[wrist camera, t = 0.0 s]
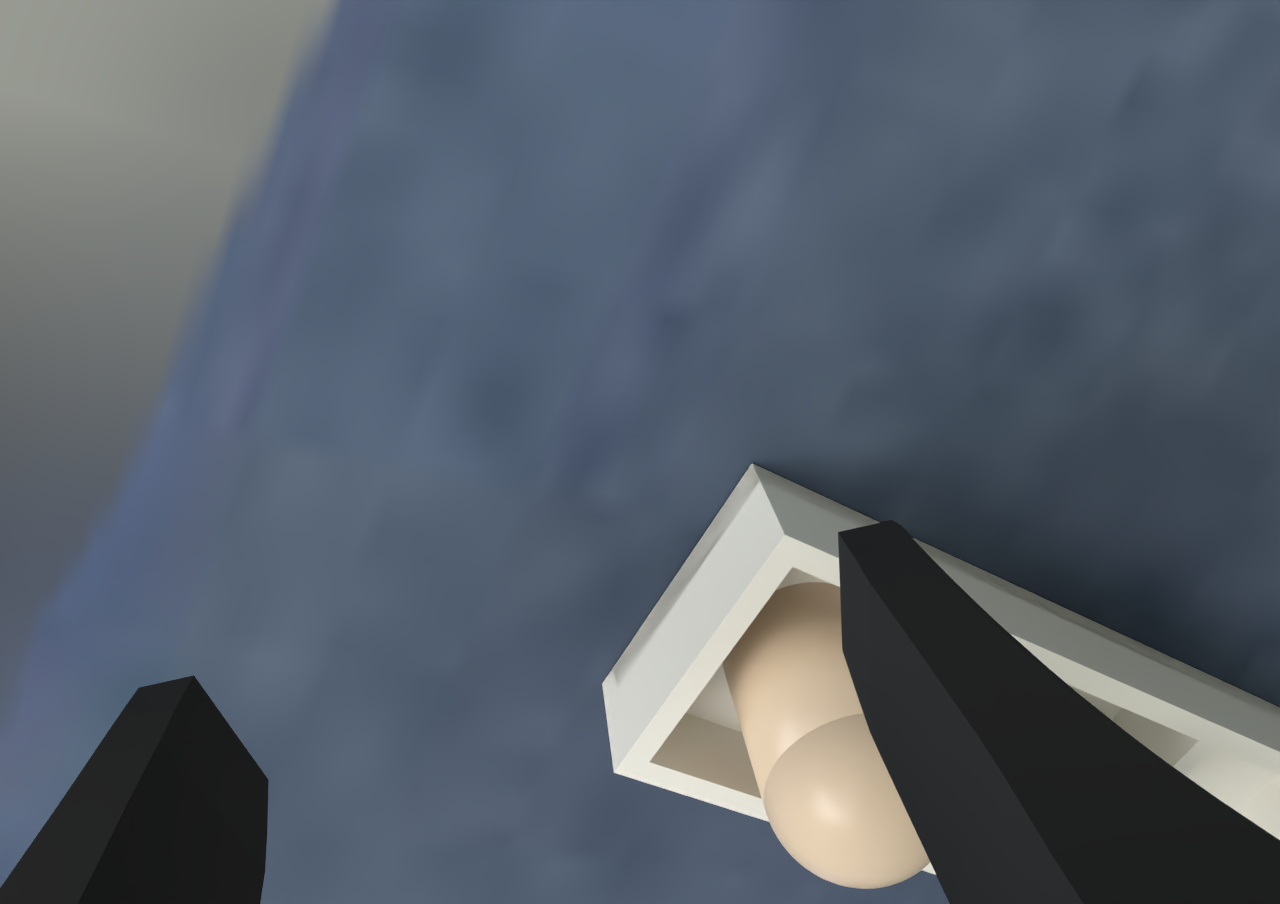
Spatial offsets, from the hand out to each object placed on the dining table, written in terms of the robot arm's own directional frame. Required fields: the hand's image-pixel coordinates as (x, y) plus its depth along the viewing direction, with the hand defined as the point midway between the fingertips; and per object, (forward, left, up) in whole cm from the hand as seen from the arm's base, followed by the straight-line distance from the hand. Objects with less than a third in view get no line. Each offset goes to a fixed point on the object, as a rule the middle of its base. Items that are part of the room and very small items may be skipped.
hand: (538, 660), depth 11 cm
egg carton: (-4, -16, -11) cm, 20 cm away
